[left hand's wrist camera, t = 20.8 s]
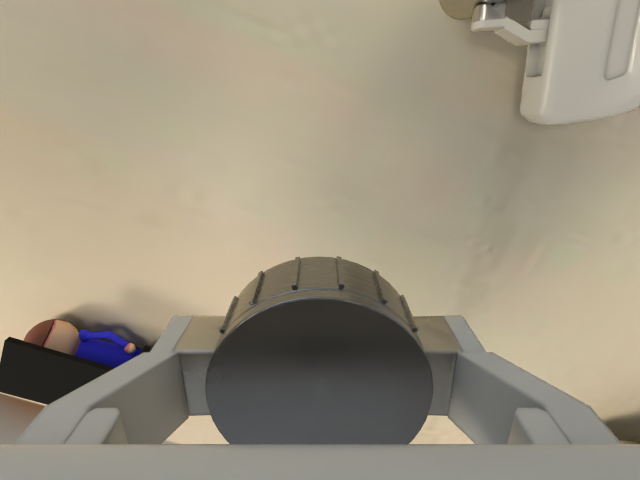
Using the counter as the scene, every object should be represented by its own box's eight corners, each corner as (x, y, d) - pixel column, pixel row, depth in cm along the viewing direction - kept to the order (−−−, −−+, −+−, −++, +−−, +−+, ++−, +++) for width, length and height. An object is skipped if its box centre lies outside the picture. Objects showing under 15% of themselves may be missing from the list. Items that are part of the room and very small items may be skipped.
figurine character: (187, 335, 44) (44, 298, 41) (171, 384, 37) (-4, 344, 34) (172, 378, 46) (35, 347, 43) (154, 432, 40) (-12, 400, 36)
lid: (407, 414, 11) (425, 480, 9) (233, 415, 11) (215, 481, 9) (422, 253, 9) (447, 294, 7) (215, 254, 9) (188, 296, 7)
